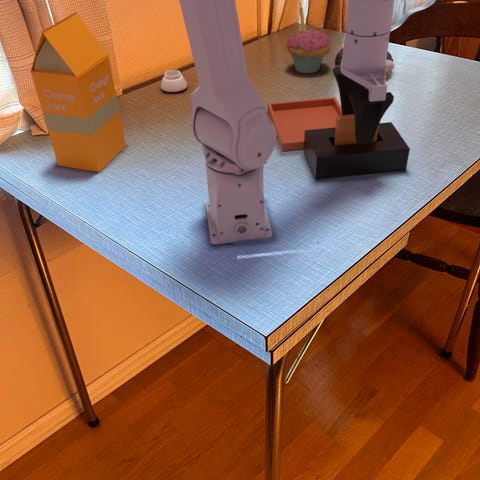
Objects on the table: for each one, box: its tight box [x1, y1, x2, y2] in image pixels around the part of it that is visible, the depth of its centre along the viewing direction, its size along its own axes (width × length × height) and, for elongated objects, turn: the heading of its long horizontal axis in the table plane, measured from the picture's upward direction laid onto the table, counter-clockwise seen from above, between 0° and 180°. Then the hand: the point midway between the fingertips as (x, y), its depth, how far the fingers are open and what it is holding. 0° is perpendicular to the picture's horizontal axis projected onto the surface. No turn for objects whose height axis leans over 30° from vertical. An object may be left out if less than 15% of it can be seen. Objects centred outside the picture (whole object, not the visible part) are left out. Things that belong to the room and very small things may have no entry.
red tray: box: [267, 96, 342, 152], centre depth 94 cm, size 15×12×2 cm
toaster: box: [303, 121, 411, 181], centre depth 84 cm, size 9×14×4 cm, turn 97°
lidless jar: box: [160, 69, 188, 93], centre depth 108 cm, size 5×3×5 cm
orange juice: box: [30, 11, 127, 173], centre depth 84 cm, size 8×9×20 cm
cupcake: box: [285, 1, 332, 74], centre depth 109 cm, size 9×8×12 cm
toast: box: [334, 114, 379, 146], centre depth 83 cm, size 1×6×7 cm, turn 97°
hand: (356, 129), depth 82 cm, fingers open, 7 cm apart
